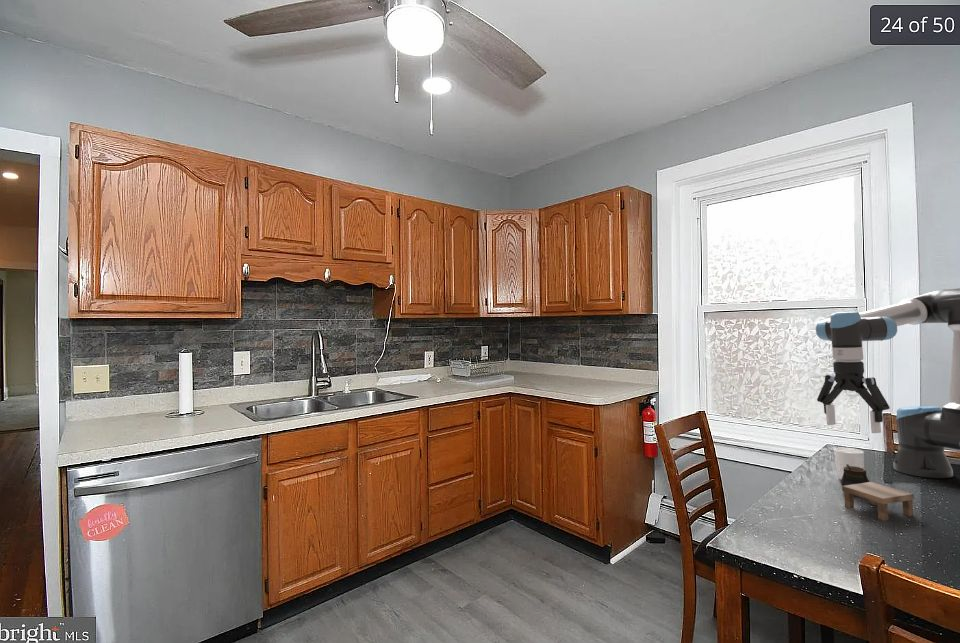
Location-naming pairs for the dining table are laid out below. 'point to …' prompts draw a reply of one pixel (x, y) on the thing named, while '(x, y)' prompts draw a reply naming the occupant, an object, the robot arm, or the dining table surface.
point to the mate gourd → (853, 476)
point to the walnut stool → (879, 497)
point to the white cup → (848, 459)
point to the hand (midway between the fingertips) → (852, 428)
